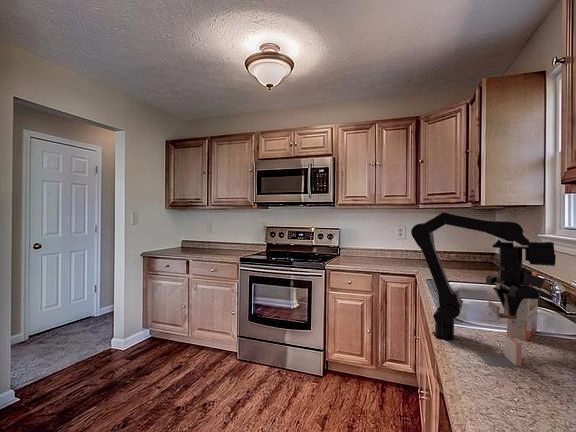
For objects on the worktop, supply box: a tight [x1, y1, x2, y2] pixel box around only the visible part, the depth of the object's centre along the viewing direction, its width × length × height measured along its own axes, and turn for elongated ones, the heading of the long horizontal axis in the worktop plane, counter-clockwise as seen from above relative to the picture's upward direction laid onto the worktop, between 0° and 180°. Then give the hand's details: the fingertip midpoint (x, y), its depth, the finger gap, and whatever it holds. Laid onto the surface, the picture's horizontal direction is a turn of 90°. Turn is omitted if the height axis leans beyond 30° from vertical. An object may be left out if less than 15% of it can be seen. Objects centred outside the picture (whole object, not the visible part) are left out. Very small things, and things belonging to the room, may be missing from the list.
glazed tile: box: [503, 334, 522, 366], centre depth 90 cm, size 6×1×6 cm, turn 171°
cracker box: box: [506, 271, 540, 342], centre depth 109 cm, size 14×6×21 cm, turn 131°
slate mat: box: [476, 352, 525, 369], centre depth 91 cm, size 8×9×1 cm
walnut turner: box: [487, 300, 517, 321], centre depth 98 cm, size 6×6×5 cm
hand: (510, 314), depth 98 cm, fingers closed on walnut turner, 2 cm apart
